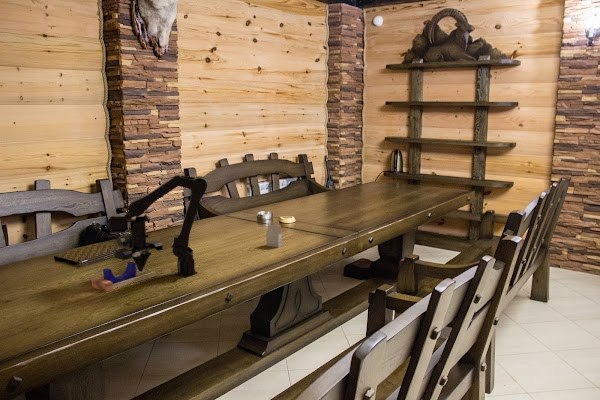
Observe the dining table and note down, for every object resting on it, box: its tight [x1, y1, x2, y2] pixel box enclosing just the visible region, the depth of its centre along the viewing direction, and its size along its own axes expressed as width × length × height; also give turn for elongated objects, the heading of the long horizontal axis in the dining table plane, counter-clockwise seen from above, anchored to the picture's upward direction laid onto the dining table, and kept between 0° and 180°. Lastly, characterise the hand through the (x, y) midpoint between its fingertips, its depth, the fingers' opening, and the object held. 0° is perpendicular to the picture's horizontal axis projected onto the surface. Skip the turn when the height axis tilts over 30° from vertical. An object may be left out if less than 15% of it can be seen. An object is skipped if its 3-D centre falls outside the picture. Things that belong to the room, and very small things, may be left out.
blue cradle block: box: [102, 261, 137, 284], centre depth 206 cm, size 12×4×6 cm, turn 143°
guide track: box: [91, 267, 157, 292], centre depth 207 cm, size 9×22×3 cm, turn 144°
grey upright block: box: [265, 223, 284, 248], centre depth 258 cm, size 4×7×10 cm, turn 61°
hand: (140, 271), depth 213 cm, fingers closed
